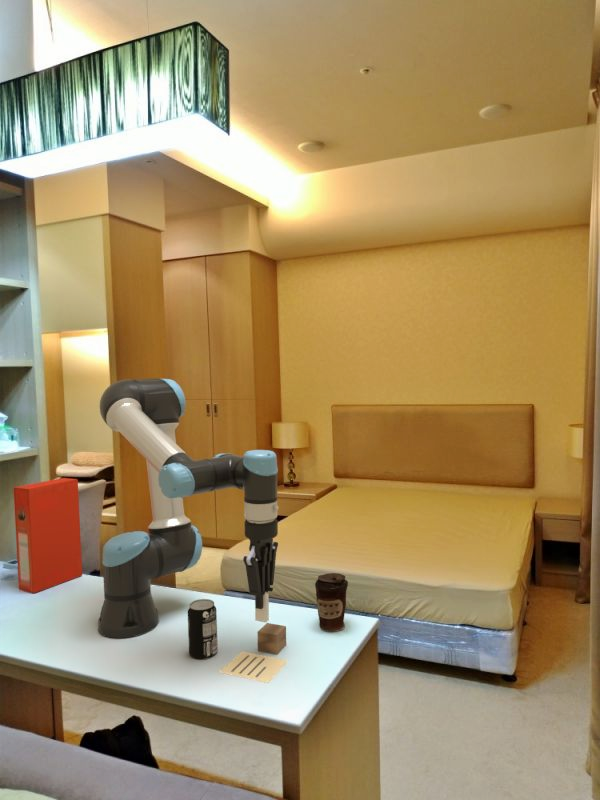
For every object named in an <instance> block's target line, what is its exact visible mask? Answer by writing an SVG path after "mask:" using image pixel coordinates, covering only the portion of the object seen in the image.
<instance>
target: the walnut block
mask: <svg viewBox="0 0 600 800" xmlns="http://www.w3.org/2000/svg"><path fill="white" fill-rule="evenodd" d="M265 623H266V624H264V625H263V626H262V627H261V628H260V629H259V630H257V633H256V634H257V651H258V652H262V653H267V654H272V655H278V654H280V652H281V651H283V649H284V648H285V647H286V646H287V626H286V625H280V624H275V623H270V622H265Z"/></svg>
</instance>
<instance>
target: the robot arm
mask: <svg viewBox="0 0 600 800" xmlns="http://www.w3.org/2000/svg"><path fill="white" fill-rule="evenodd" d="M186 403H187V402H186V397H185V393H184V391H183V389H182V388H181V386H180V384H178V383H177V381H175V380H173V379H169V378H160V377H159V378H157V377H156V378H141V379H140V378H139V379H137V378H136V379H130V378H129V379H128V378H127V379H121V380H118V381H115V382H114V383H111V384H110V385H109V386H108V387H107V388H106V389H105V390H104V391H103V392H102V394H101V398H100V399H99V413H100V416H101V418H102V420H103V422H104V423H105V424H106V425H107V427H108V428H109V429H111V430H112V431H114V432H118V433H120V434H121V435H122V436H123V437H124V438H125V440H127V441H128V442H129V444H131V446H133V448H134V449H136V451H137V452H138V453H139V454H140V455H141V456H142V457H143V458H144V459H145V461H146V469H147V478H148V489H149V496H150V497H149V498H150V504H151V512H152V513H151V514H152V521H151V522H150V523H149V525H148V526H147V528H148V530H147V531H148V533H147V532H146V531H140V530H139V531H138V530H133V531H132V532H130V531H127V532H124V533H121V534H118V535H116V536H113V537H111V538H110V539H109V540H107V541H106V543H105V544H104V545H103V548H102V559H101V562H102V576H103V591H104V594H103V596H104V600H103V604H102V606H101V610H100V615H99V617H98V620H97V621H98V622H97V626H98V632H99V634H100V635H102V636H104V637H107V638H112V639H113V638H114V639H124V638H125V639H126V638H132V637H137V636H140V635H143V634H146V633H148V632H150V631H152V630H153V629H155V628H156V627H157V626H158V624H159V622H160V620H159V619H160V618H159V617H160V616H159V611H158V609H157V607H156V604H155V602H154V599H153V595H152V592H151V591H152V589H151V588H152V587H151V586H152V585H151V583H152V582H151V581H152V580H156V579H160V578H163V577H166V576H169V575H173V574H175V573H182V572H185V571H187V570H188V569H191V568H193V567H195V565H197V564H198V562H199V560H200V559H201V556H202V552H203V540H202V536H201V533H199V529H198V528H197V527H196V526H194V525H192V520H191V519H190V518H189V517H187V516H186V515H185V510H184V499H183V498H186V497H190V496H191V497H192V496H196V495H201V494H204V493H210V492H211V493H212V492H216V491H221V490H225V489H230V488H231V489H232V488H233V489H239V490H242V491H243V494H244V495H243V496H244V497H243V501H244V505H243V507H244V508H243V509H244V511H243V514H244V515H243V517H244V519H245V520H244V536H245V538H246V539H248V540H249V541H250V542H249V547H248V550H249V553H248V555H247V556H246V555H245V556H243V560H242V561H243V563H244V565H245V570H246V577H247V585H248V591H249V594H250V595H254V609H255V611H254V620H255V621H256V622H262V623H268V622H269V617H270V616H269V615H270V613H269V612H270V609H269V608H270V606H269V605H270V601H269V599H270V598H269V597H270V596H269V592H273V590H274V587H271V586H273V585H274V581H275V570H276V569H275V568H276V560H277V552H278V551H277V550H278V546H279V542H277V541H274V538H276V537H277V536H278V533H279V529H278V527H279V526H278V525H279V524H278V519H277V517H278V510H279V509H280V507H279V506H278V473H279V469H278V458H277V454H276V453H275V452H274V451H273V450H268V449H252V450H248V451H245V452H244V454H243V455H242V456H241V455H237V454H233V453H218V454H216V455H214V456H213V457H211V458H205V459H204V458H203V459H193V458H192V457H191V456H190V455H189V454H187V453H186V452H185V451H184V450H183V449H182V448H181V447H180V446H179V445H178V444H177V440H176V432H175V431H176V429H177V427H178V426H179V425H180V418H181V417H183V416H184V414H185V409H186V407H187V406H186Z"/></svg>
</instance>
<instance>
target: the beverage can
mask: <svg viewBox="0 0 600 800" xmlns="http://www.w3.org/2000/svg"><path fill="white" fill-rule="evenodd" d="M217 617H218V615H217V608H216V606H215V602H214V600H212V599H208V598H207V599H206V598H201V599H195V600H193V601H191V602H190V603H189V608H188V610H187V630H188V631H187V633H188V635H187V636H188V637H187V638H188V654H189V655H190V657H191V658H193V659H196V660H206V659H210V658H212V657H214V656H215V655H216V654H217V652H218V650H219V649H218V622H217V621H218V620H217Z"/></svg>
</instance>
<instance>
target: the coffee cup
mask: <svg viewBox="0 0 600 800" xmlns="http://www.w3.org/2000/svg"><path fill="white" fill-rule="evenodd" d="M314 586H315V596H316V606H317V614H318V623H319V624H318V625H319V628H320V629H322V631H327V632H339V631H341V630H342V631H343V630H344V629H345V625H346V624H345V620H344V619H345V613H346V608H347V590H348V586H349V581H348V580H347V579H346V575H344V574H341V573H339V572H337V573H336V572H330V573H324V574H321V575H318V576H317V580H316V581H315V583H314Z"/></svg>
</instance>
